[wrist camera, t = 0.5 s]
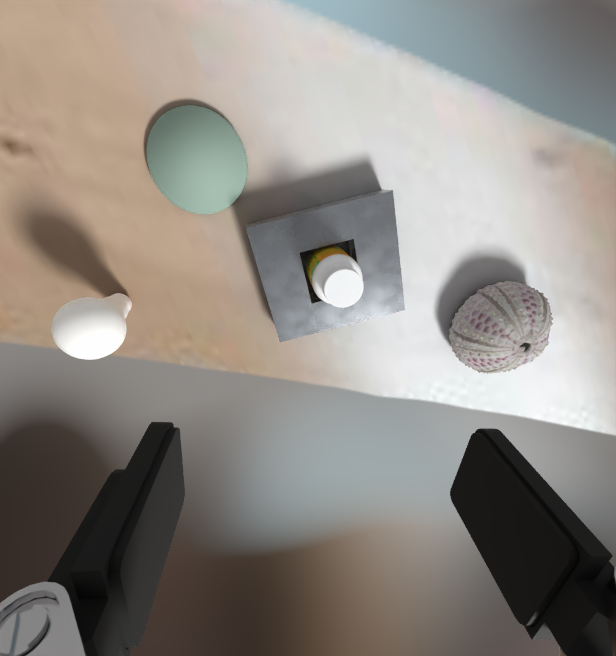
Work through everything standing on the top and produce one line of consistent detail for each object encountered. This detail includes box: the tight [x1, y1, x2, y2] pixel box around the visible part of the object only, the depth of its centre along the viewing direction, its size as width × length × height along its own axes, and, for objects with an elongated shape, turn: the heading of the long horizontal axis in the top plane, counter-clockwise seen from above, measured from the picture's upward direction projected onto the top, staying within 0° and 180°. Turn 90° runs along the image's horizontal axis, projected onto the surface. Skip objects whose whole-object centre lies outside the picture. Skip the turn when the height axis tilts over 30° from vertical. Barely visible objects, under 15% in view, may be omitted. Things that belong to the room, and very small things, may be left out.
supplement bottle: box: [306, 244, 364, 308], centre depth 36 cm, size 5×5×10 cm
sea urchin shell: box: [448, 281, 553, 374], centre depth 43 cm, size 13×14×8 cm
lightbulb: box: [51, 293, 132, 359], centre depth 34 cm, size 6×6×11 cm
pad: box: [146, 105, 248, 214], centre depth 33 cm, size 10×10×1 cm
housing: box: [246, 190, 405, 342], centre depth 38 cm, size 16×14×4 cm
